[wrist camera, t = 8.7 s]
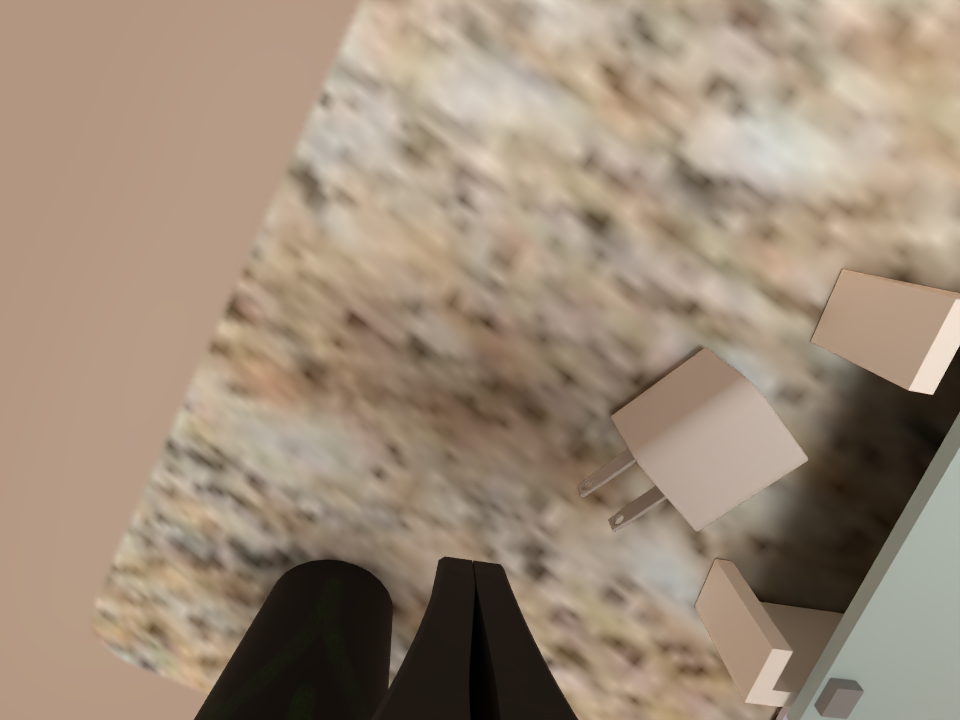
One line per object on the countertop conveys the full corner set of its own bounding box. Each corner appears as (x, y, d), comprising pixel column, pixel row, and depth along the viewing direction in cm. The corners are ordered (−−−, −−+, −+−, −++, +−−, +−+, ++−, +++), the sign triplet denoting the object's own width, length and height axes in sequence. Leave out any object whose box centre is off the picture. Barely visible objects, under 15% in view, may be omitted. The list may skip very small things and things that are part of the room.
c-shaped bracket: (871, 630, 25) (956, 728, 20) (694, 606, 24) (744, 702, 20) (1062, 313, 19) (1233, 355, 15) (842, 269, 19) (956, 298, 14)
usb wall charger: (752, 414, 21) (815, 468, 17) (611, 509, 22) (641, 579, 18) (699, 342, 19) (754, 383, 16) (555, 448, 21) (573, 508, 17)
